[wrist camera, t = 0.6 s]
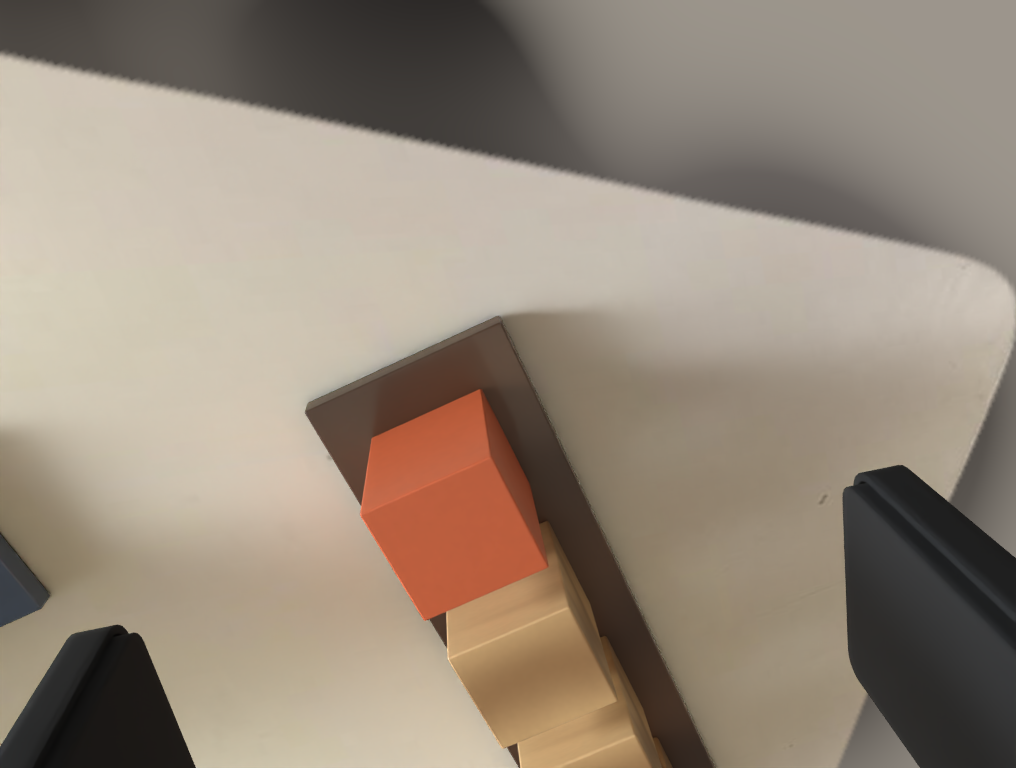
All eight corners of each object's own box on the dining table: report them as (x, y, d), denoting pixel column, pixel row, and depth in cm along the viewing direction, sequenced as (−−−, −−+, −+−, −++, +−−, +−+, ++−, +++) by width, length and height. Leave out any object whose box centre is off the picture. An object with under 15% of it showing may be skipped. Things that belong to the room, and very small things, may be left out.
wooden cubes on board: (306, 402, 28) (277, 486, 23) (499, 314, 27) (516, 378, 22) (581, 859, 37) (606, 998, 31) (730, 799, 36) (783, 930, 31)
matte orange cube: (370, 437, 28) (359, 514, 23) (481, 387, 27) (491, 455, 23) (425, 531, 29) (424, 622, 25) (530, 485, 29) (549, 568, 24)
